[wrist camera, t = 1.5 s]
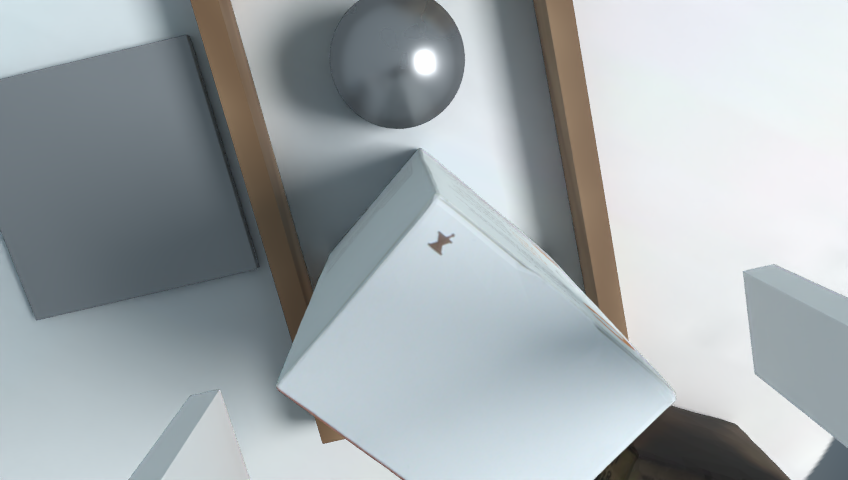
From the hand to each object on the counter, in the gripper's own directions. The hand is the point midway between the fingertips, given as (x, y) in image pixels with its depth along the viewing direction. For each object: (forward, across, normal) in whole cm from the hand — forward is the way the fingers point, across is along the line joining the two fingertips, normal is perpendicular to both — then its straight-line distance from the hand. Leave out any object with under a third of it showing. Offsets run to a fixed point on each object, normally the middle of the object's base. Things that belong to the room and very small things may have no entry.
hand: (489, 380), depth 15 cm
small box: (+13, 0, 0) cm, 13 cm away
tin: (+13, 0, +8) cm, 15 cm away
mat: (+12, -14, +6) cm, 19 cm away
